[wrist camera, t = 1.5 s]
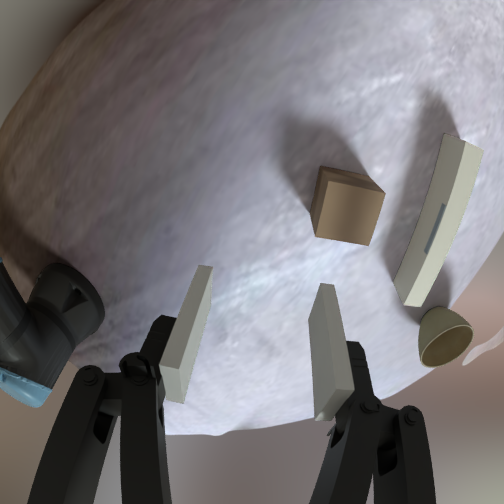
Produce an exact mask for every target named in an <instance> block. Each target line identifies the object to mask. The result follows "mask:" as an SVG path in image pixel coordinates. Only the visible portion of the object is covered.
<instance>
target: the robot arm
mask: <svg viewBox="0 0 504 504" xmlns="http://www.w3.org/2000/svg"><path fill="white" fill-rule="evenodd" d="M2 261H3V260H2V258H1V257H0V388H1V389H2V390H3V391H5V392H6V393H8V394H9V395H10V396H12V397H14V398H15V399H17V400H18V401H20V402H22V403H24V404H26V405H29V406H31V407H40V406H41V405H42V404H43V403H44V401H45V400H46V398H47V397H48V395H49V394H50V393H51V392H52V388H53V386H54V384H55V383H56V381H57V379H58V377H59V375H60V374H61V372H62V370H63V368H64V366H65V365H66V363H67V361H68V359H69V358H70V356H71V354H72V353H73V351H74V349H75V348H76V346H77V345H78V344H80V343H81V342H82V341H83V340H85V339H86V338H87V337H88V336H89V335H91V334H93V333H95V332H96V331H97V330H98V328H99V327H100V325H101V324H102V322H103V320H104V316H105V311H104V306H103V303H102V300H101V298H100V296H99V295H98V293H97V291H96V290H95V289H94V287H93V286H92V285H91V284H90V283H89V282H88V280H87V279H85V278H84V277H83V276H82V275H81V274H80V273H78V272H77V271H75V270H74V269H72V268H70V267H68V266H66V265H63V264H50V265H48V266H47V267H46V268H45V269H44V270H43V271H42V272H41V273H40V274H39V276H38V277H37V280H36V285H35V286H34V288H33V290H32V292H31V295H30V297H29V300H28V302H27V303H25V302H24V300H23V298H22V297H21V295H20V293H19V292H18V290H17V288H16V287H15V285H14V283H13V281H12V279H11V278H10V276H9V274H8V272H7V270H6V268H5V266H4V264H3V262H2ZM212 277H213V267H210V266H204V265H199V266H198V268H197V270H196V273H195V275H194V278H193V280H192V282H191V285H190V287H189V290H188V292H187V295H186V297H185V299H184V302H183V304H182V307H181V309H180V312H179V314H178V317H177V318H174V317H169V316H165V315H161V316H159V317H158V318H157V319H156V320H155V321H154V322H153V324H152V326H151V328H150V332H149V333H148V335H147V338H146V339H145V341H144V344H143V346H142V348H141V350H140V353H139V352H134V353H129V354H127V355H125V356H124V357H123V358H122V359H121V361H120V363H119V367H120V370H121V372H119V373H104V372H103V371H102V370H101V369H100V368H99V367H97V366H94V365H88V366H84V367H82V368H81V369H79V371H78V372H77V373H76V375H75V377H74V380H73V382H72V384H71V386H70V388H69V390H68V392H67V395H66V397H65V399H64V402H63V404H62V407H61V409H60V411H59V413H58V416H57V418H56V421H55V423H54V425H53V428H52V431H51V433H50V436H49V438H48V441H47V443H46V446H45V449H44V452H43V455H42V457H41V460H40V463H39V466H38V469H37V472H36V476H35V478H34V482H33V485H32V488H31V492H30V495H29V499H28V503H27V504H93V502H94V498H95V494H96V490H97V486H98V482H99V478H100V475H101V471H102V467H103V464H104V460H105V457H106V453H107V450H108V446H109V443H110V440H111V436H112V433H113V430H114V427H115V423H116V420H117V417H118V416H121V428H120V429H121V430H120V471H121V492H122V504H172V500H171V492H170V484H169V475H168V465H167V454H166V443H165V442H166V441H165V426H164V408H163V401H164V398H165V396H166V400H169V401H173V402H177V403H182V404H184V400H185V396H186V393H187V389H188V385H189V381H190V378H191V374H192V371H193V367H194V363H195V360H196V356H197V353H198V349H199V346H200V342H201V338H202V335H203V331H204V328H205V325H206V321H207V318H208V314H209V311H210V307H211V295H212ZM308 322H309V334H310V347H311V361H312V377H313V395H314V417H315V420H318V421H319V420H320V421H331V420H332V419H333V418H334V416H335V418H336V424H335V425H334V426H333V427H332V429H331V430H330V431H329V432H328V434H327V436H329V435H330V434H331V436H330V440H329V444H328V447H327V450H326V454H325V458H324V461H323V464H322V467H321V470H320V473H319V477H318V480H317V483H316V486H315V489H314V491H313V494H312V497H311V500H310V503H309V504H366V501H367V496H368V493H369V488H370V484H371V479H372V474H373V483H374V504H436V496H435V486H434V478H433V469H432V462H431V455H430V449H429V443H428V438H427V432H426V427H425V422H424V417H423V415H422V412H421V411H420V410H419V409H418V408H416V407H415V406H410V405H408V406H404V407H403V408H402V409H401V410H397V409H393V408H390V407H387V406H384V405H383V404H382V403H381V401H380V400H379V399H378V398H377V397H376V396H374V393H373V388H372V383H371V378H370V374H369V369H368V365H367V361H366V356H365V351H364V349H363V348H362V346H361V345H360V343H359V342H354V341H346V338H345V333H344V328H343V323H342V319H341V314H340V309H339V305H338V300H337V296H336V291H335V287H334V285H332V284H324V283H320V286H319V289H318V292H317V295H316V299H315V301H314V304H313V307H312V310H311V313H310V316H309V319H308Z"/></svg>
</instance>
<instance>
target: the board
mask: <svg viewBox="0 0 504 504" xmlns="http://www.w3.org/2000/svg"><path fill="white" fill-rule="evenodd" d="M483 151H484V150H483V149H481V148H479V147H477V146H475V145H472V144H470V143H468V142H466V141H464V140H461V139H459V138H456V137H453V136H451V135H448V134H445V133H444V135H443V139H442V143H441V147H440V151H439V155H438V159H437V163H436V166H435V170H434V173H433V177H432V180H431V183H430V187H429V190H428V193H427V196H426V199H425V202H424V205H423V208H422V211H421V214H420V217H419V220H418V222H417V225H416V228H415V230H414V233H413V236H412V238H411V241H410V243H409V246H408V248H407V251H406V253H405V256H404V258H403V261H402V263H401V265H400V268H399V270H398V272H397V275H396V277H395V279H394V281H393V284H394V286H395V288H396V290H397V292H398V295H399V297H400V299H401V301H402V303H403V305H406V306H416V307H421V306H422V304H423V302H424V300H425V299H426V297H427V295H428V293H429V291H430V289H431V287H432V285H433V283H434V281H435V279H436V277H437V275H438V273H439V271H440V269H441V267H442V265H443V263H444V261H445V258H446V256H447V254H448V252H449V250H450V247H451V245H452V243H453V240H454V238H455V235H456V233H457V231H458V228H459V226H460V223H461V220H462V218H463V215H464V212H465V210H466V207H467V204H468V201H469V198H470V195H471V192H472V189H473V186H474V183H475V180H476V177H477V173H478V170H479V166H480V163H481V159H482V155H483Z"/></svg>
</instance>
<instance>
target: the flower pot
mask: <svg viewBox="0 0 504 504" xmlns="http://www.w3.org/2000/svg"><path fill="white" fill-rule="evenodd" d="M473 336H474V330H473V328H472V327H471V326H470V325H469V323H468V322H467V321H466V320H465V319H464V318H463V317H461V316H460V315H459V314H457V313H456V312H454V311H452V310H450V309H447V308H444V307H435V308H433V309H431V310H430V311H428V312H427V313H426V314H425V315H424V316H423V318H422V321H421V324H420V329H419V338H418V347H419V356H420V361H421V363H422V365H423V366H425V367H429V368H435V367H440V366H443V365H446V364H448V363H450V362H452V361H453V360H455V359H456V358H458V357H459V356H460V355H462V354H463V353H464V352H465V351H466V349H467V348H468V347H469V345H470V344H471V342H472V340H473Z"/></svg>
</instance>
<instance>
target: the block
mask: <svg viewBox="0 0 504 504" xmlns="http://www.w3.org/2000/svg"><path fill="white" fill-rule="evenodd" d="M385 194H386V193H385V192H384V191H383V190H382V189H381V188H380V187H379V186H378V185H377V184H376V183H375V182H374V181H373V180H372V179H371V178H370V177H369V176H365V175H361V174H357V173H352V172H348V171H343V170H339V169H334V168H329V167H324V166H320V169H319V173H318V178H317V183H316V187H315V192H314V197H313V201H312V206H311V210H310V217H311V221H312V225H313V230H314V234H315V237H319V238H325V239H331V240H337V241H343V242H349V243H355V244H361V245H366V246H369V244H370V241H371V238H372V235H373V232H374V229H375V226H376V223H377V220H378V217H379V214H380V211H381V207H382V204H383V201H384V197H385Z"/></svg>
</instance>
